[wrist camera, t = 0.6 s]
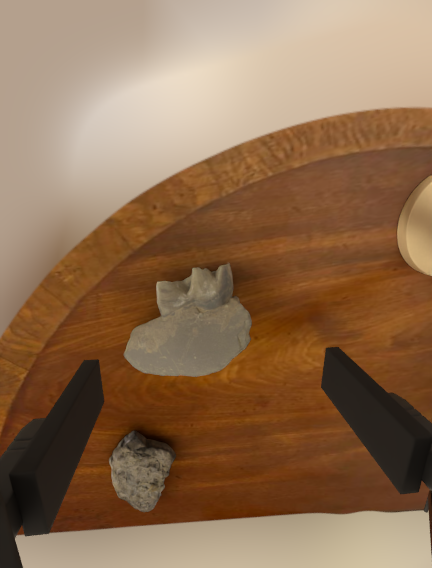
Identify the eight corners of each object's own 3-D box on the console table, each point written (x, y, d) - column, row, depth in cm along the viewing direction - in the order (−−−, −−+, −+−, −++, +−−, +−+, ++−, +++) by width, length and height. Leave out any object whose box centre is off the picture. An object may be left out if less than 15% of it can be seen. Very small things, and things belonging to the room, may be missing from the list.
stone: (157, 501, 41) (154, 523, 38) (99, 492, 39) (92, 514, 36) (184, 425, 37) (184, 442, 35) (123, 412, 36) (117, 430, 33)
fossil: (231, 307, 37) (222, 245, 31) (269, 369, 29) (268, 304, 23) (128, 345, 35) (95, 287, 28) (140, 424, 27) (97, 369, 20)
